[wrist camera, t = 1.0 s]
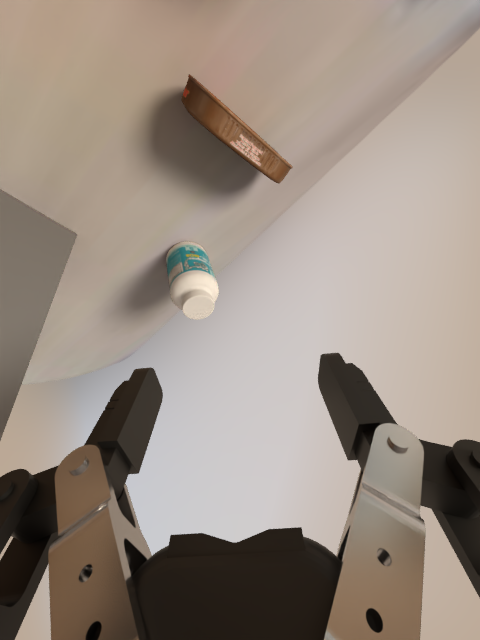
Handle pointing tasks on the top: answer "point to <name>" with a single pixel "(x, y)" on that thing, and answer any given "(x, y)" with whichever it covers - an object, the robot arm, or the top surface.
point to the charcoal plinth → (25, 288)
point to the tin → (233, 131)
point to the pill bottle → (191, 280)
